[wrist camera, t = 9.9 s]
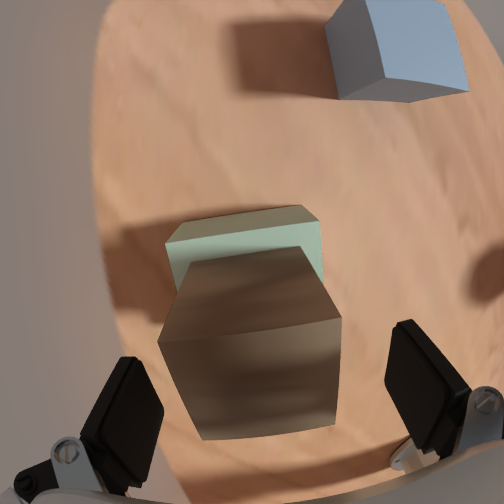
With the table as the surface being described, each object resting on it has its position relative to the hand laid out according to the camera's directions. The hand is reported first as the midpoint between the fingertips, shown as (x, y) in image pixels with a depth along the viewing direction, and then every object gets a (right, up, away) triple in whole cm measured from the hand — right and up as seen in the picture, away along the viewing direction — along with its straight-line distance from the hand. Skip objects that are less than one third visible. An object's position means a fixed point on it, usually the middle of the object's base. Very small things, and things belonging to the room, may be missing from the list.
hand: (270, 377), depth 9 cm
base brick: (-1, +3, +8) cm, 9 cm away
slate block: (+6, +16, +4) cm, 18 cm away
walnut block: (-1, +2, +4) cm, 5 cm away
